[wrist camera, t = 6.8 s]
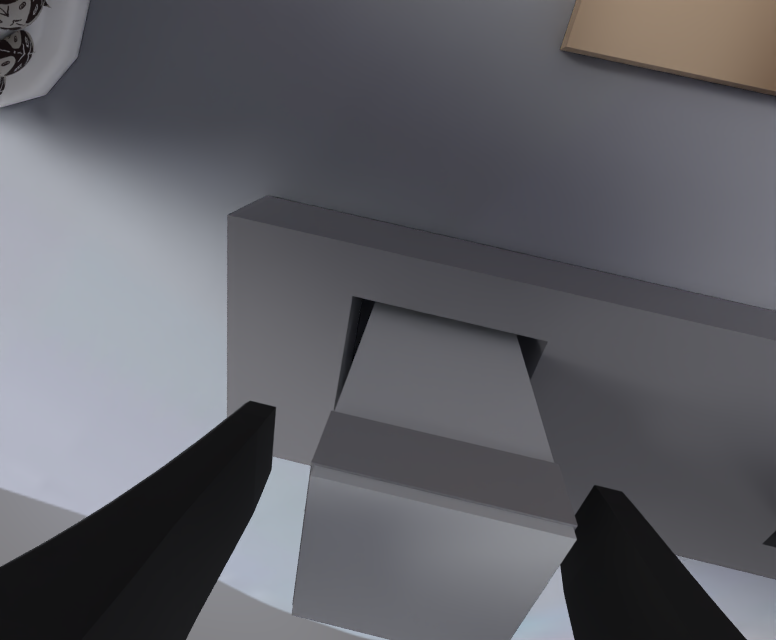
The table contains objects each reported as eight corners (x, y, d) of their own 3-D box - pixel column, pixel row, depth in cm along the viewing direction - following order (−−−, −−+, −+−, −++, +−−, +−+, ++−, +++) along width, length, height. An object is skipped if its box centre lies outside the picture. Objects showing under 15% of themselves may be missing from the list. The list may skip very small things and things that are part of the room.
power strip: (1147, 396, 12) (1378, 491, 9) (920, 559, 15) (1029, 663, 13) (266, 195, 12) (211, 222, 9) (257, 399, 16) (215, 463, 13)
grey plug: (509, 303, 13) (582, 538, 6) (473, 402, 15) (494, 667, 8) (383, 275, 13) (307, 472, 6) (363, 377, 15) (288, 615, 8)
